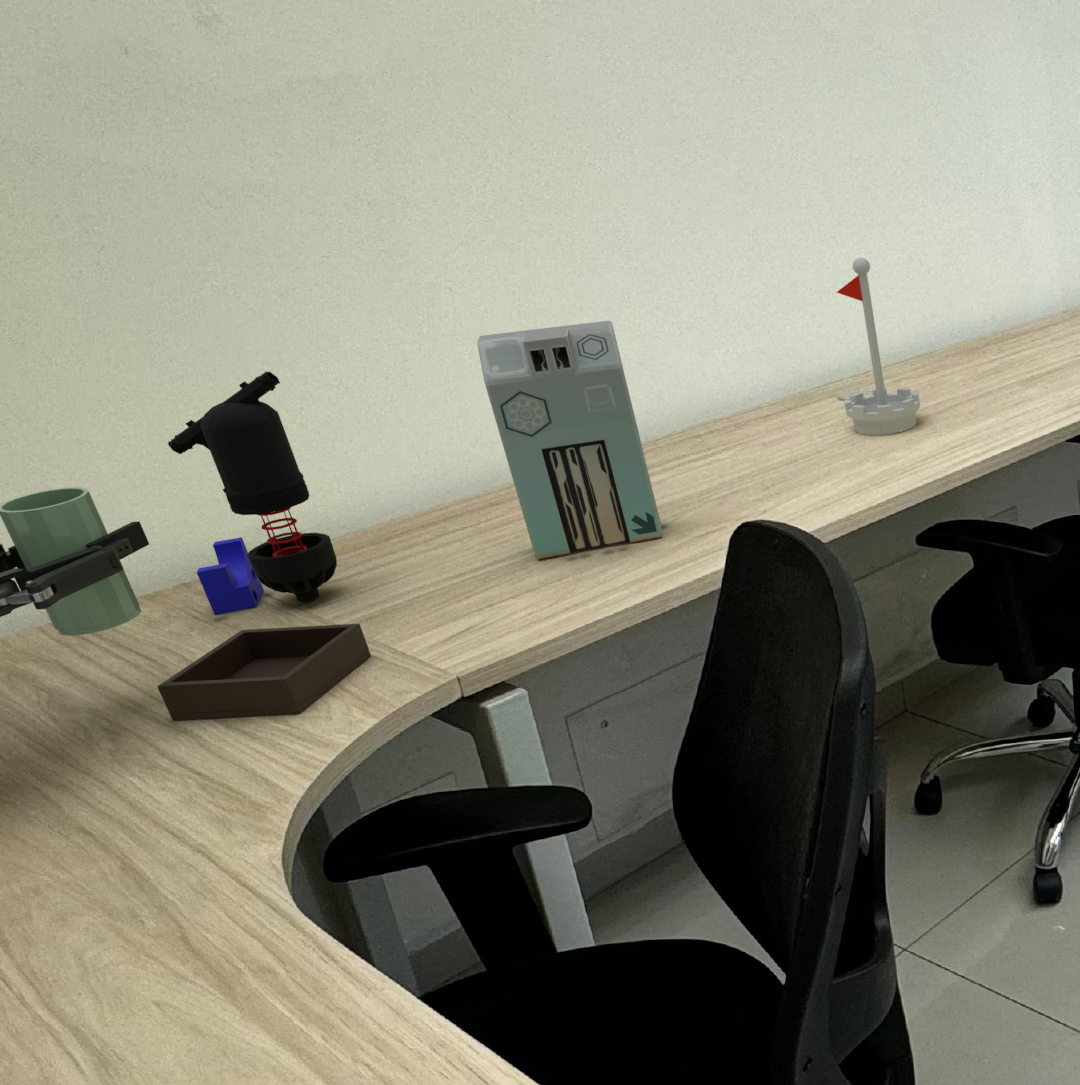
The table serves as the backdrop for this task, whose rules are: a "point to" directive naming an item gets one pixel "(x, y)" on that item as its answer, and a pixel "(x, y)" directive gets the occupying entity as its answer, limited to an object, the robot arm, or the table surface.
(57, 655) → the table surface
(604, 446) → the device
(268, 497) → the filter
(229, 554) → the blue block
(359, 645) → the tray
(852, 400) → the flag stand
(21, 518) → the green pipe segment
